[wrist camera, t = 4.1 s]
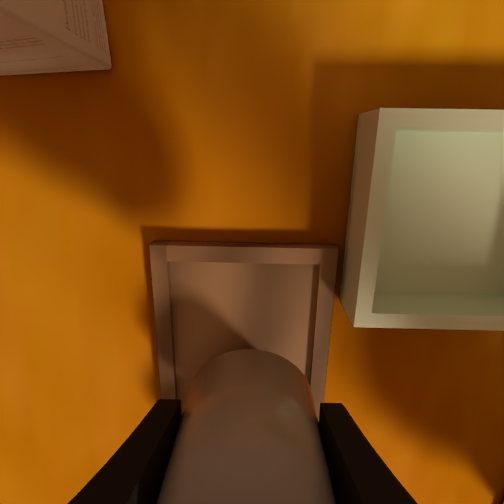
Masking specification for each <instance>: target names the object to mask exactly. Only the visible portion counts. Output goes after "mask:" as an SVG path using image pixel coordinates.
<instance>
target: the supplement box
mask: <svg viewBox="0 0 504 504" xmlns="http://www.w3.org/2000/svg"><path fill="white" fill-rule="evenodd" d="M111 67H112V65H111V57H110V50H109V43H108V35H107V29H106V22H105V15H104V9H103V0H0V76H1V75H20V74H38V73H55V72H72V71H89V70H109V69H111Z"/></svg>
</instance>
